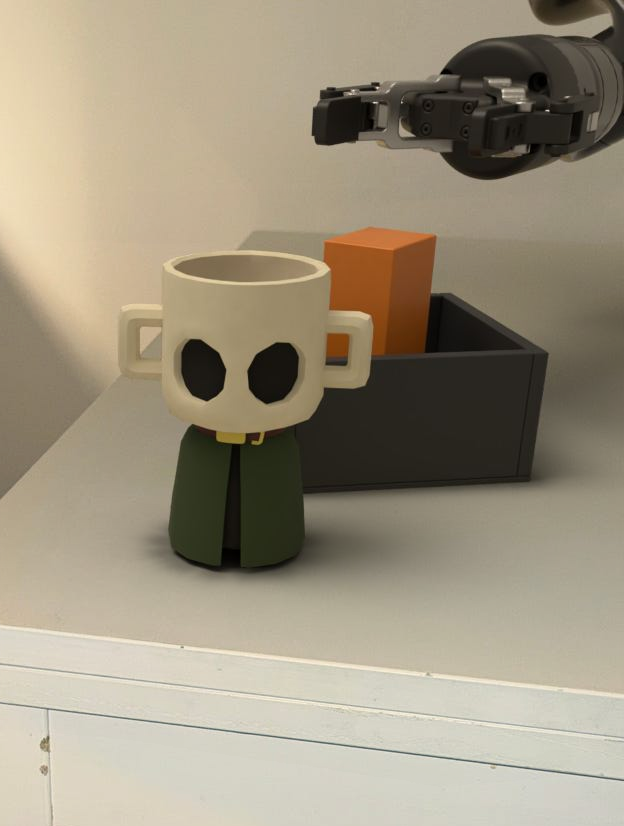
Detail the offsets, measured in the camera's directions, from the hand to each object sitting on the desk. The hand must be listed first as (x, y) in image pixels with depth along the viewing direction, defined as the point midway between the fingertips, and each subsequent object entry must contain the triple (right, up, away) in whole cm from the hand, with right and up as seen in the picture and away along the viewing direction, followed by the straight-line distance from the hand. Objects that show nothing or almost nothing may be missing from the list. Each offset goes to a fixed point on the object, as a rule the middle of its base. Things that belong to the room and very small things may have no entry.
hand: (396, 128), depth 65 cm
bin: (0, -15, +8) cm, 17 cm away
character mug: (-8, -22, -5) cm, 24 cm away
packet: (0, -14, +8) cm, 16 cm away
